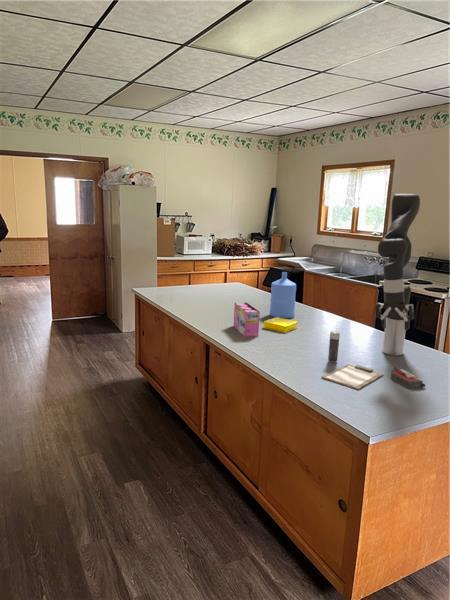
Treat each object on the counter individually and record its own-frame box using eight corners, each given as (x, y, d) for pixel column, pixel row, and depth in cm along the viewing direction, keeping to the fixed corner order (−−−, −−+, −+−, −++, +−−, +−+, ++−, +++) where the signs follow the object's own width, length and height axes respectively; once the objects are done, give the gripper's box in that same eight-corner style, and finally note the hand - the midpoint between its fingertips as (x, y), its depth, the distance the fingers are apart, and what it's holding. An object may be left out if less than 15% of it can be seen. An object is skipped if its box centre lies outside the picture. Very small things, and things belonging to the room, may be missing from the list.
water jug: (293, 319, 269) (296, 274, 263) (268, 317, 272) (270, 273, 266) (294, 314, 284) (297, 271, 278) (270, 312, 287) (273, 269, 281)
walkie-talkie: (429, 388, 169) (395, 370, 187) (431, 378, 168) (396, 360, 186) (411, 390, 166) (377, 372, 185) (412, 380, 165) (379, 362, 184)
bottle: (330, 359, 198) (333, 330, 195) (339, 362, 195) (341, 332, 192) (325, 361, 195) (328, 332, 192) (334, 364, 192) (336, 334, 189)
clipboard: (347, 365, 191) (348, 361, 190) (383, 375, 180) (383, 371, 180) (321, 378, 175) (321, 374, 175) (358, 390, 164) (359, 386, 164)
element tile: (285, 333, 239) (285, 325, 238) (261, 328, 247) (262, 320, 246) (298, 328, 250) (298, 320, 249) (275, 324, 259) (276, 316, 258)
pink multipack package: (232, 325, 251) (233, 302, 249) (245, 324, 253) (246, 301, 251) (244, 337, 229) (245, 311, 226) (259, 336, 231) (260, 311, 228)
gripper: (415, 288, 170) (416, 327, 174) (378, 287, 179) (380, 324, 183) (410, 292, 165) (411, 333, 168) (372, 291, 173) (374, 330, 177)
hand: (395, 328), depth 175 cm, fingers open, 8 cm apart
